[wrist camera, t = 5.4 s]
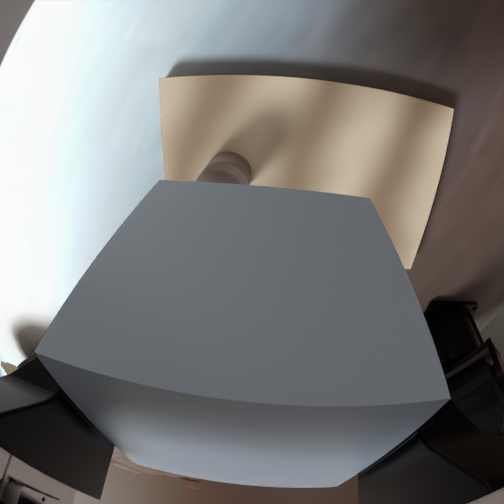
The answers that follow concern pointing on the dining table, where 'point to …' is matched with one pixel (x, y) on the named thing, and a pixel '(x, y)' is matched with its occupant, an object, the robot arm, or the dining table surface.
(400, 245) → the stub board
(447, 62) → the dining table surface
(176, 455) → the pale grey cube
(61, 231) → the dining table surface
